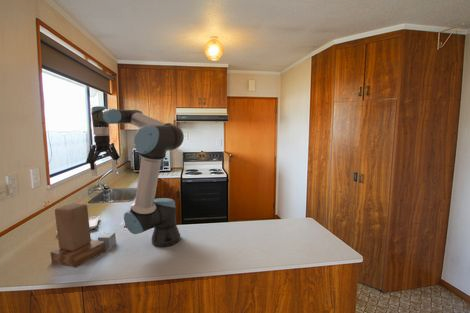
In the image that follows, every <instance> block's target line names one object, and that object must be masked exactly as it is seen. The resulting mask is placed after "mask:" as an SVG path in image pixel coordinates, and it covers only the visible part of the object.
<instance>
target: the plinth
mask: <svg viewBox="0 0 470 313" xmlns="http://www.w3.org/2000/svg"><path fill="white" fill-rule="evenodd" d="M106 251H107V250H106V248H105V242H104V241H98V239H92V238H91V243H89V244H87V245H85V246H83V247H81V248H79V249H77V250H75V251H69V250H64V249H60V248H59V247H58V248H57V249H53V250H52V251H50V259H51V260H50V261H51V263H54V264H58V265H62V266H66V267H70V268H76V269H77V268H79V267H81V266H82V265H83V264H86V263H87V262H89V261H91V260H93V259H94V258H96V257H98V256H99V255H101V254H104V253H105V252H106Z"/></svg>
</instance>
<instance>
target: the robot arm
mask: <svg viewBox="0 0 470 313" xmlns="http://www.w3.org/2000/svg"><path fill="white" fill-rule="evenodd" d="M91 120H92V130H93V140H94V143H95V144H90V145H89V152H88V155H87V158H86V161H85V163H87V164H89V168H90V170H91V175H92V176H95V177H97V176H98V170H97V169H98V168H97V163H96V161H97V160H98V157H99V156H100V154H102V153H107V154H108V155H109V157H110V158H111V167H112V168H111V170H112V171H113V172H117V171H118V167H117V166H118V161H119V159H120V154H119V153H118V151H117V149H116V146H115V143H113V142H110V139H111V138H110V128H109V124H110V125H114V124H130V125H132V126H135V127H137V128H138V129H137V130H136V131H135V132H136V133H135V134H134V139H133V144H134V148H135V150H136V151H137V153H138V155H139V157H141V159H140V166H139V171H138V179H137V187H136V191H135V200H134V201H133V202H132V203H131V204H130V210H127V211H126V212H125V213H124V214H123V221H124V222H123V223H124V224H125V227H126V229H127V230H128V232H130V233H131V234H132V235H139V234H141V233H145V232H146V231H148V230H151V229H153V231H152V232H153V233H152V236H151V245H153V246H154V247H158V248H160V247H161V248H167V247H170V246H174V245H176V244H178V243H179V242H180V241H181V239H182V238H181V233H180V231H179V228H178V226H177V214H176V209H177V208H176V201H175V200H174V199H173V198H168V197H167V198H166V197H162V198H161V197H160V198H155V197H156V194H157V193H156V192H157V186H158V181H159V175H160V170H161V163H162V160H165V158H166V155H167V152H169V151H174V150H177V149H178V148H180V147H181V145H182V144H183V142H184V138H185V137H184V136H185V134H184V131H183V130H182V129H181V127H179V126H178V125H175V124H173V123H171V122H167V123H165V122H162V121H160V120H158V119H156V118H153V117H150V116H148V115H145V114H144V113H143V111H142V110H140V109H139V110H137V109H119V108H118V109H116V108H107V107H106V106H102V105H101V106H98V105H97V106H92V107H91Z"/></svg>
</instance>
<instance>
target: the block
mask: <svg viewBox="0 0 470 313" xmlns="http://www.w3.org/2000/svg"><path fill="white" fill-rule="evenodd" d="M54 214H55V215H54V216H55V225H56V231H57V233H56V234H57V240H58V248H60V249H64V250H69V251H75V250H77V249H79V248H81V247H83V246H85V245H87V244H89V243H91V239H92V238H91V230H90V227H89V218H88V217H89V211H88V205H87V204H82V203H70V204H67V205H64V206H61V207H57V208H55V209H54Z"/></svg>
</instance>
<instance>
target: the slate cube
mask: <svg viewBox="0 0 470 313" xmlns="http://www.w3.org/2000/svg"><path fill="white" fill-rule="evenodd" d="M97 240H98V241H104V242H105V249H111V248H112V247H114V246H115V245H116V244H117V237H116V232H110V231H109V232H108V231H107V232H103V233H102V234H100V235H99V236H97ZM115 243H116V244H115Z"/></svg>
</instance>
